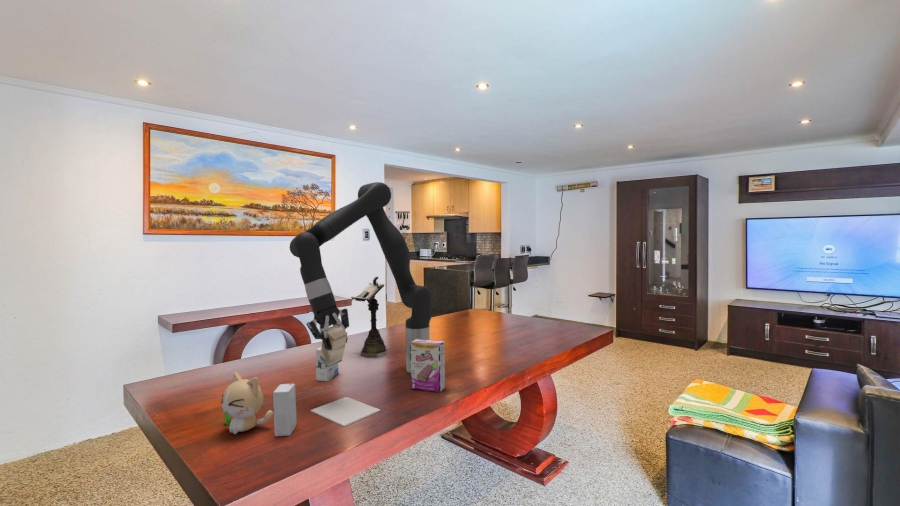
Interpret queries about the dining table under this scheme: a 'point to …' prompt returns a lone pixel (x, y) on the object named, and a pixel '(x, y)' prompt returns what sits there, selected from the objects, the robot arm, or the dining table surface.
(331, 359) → the birch block
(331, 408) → the mat
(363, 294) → the book lectern
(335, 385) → the dining table surface
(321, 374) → the ink box
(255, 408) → the kitten
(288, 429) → the skincare box
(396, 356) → the dining table surface
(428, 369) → the candy bar box
